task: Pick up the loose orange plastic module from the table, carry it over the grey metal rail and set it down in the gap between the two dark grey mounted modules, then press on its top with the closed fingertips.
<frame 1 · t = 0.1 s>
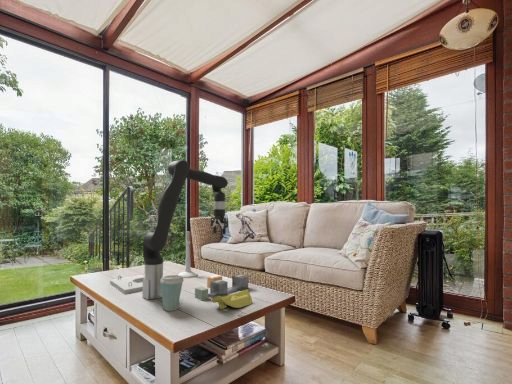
hand: (219, 233, 189), 29 cm above the table, tool pointing down, fingers open, 8 cm apart
orange module: (214, 287, 172), on the table
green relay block: (201, 298, 152), on the table
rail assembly: (228, 291, 163), on the table
disposable coffee cup: (171, 308, 137), on the table
mounting panel: (143, 284, 178), on the table
candlestick: (187, 275, 199), on the table
plastic component: (230, 306, 142), on the table
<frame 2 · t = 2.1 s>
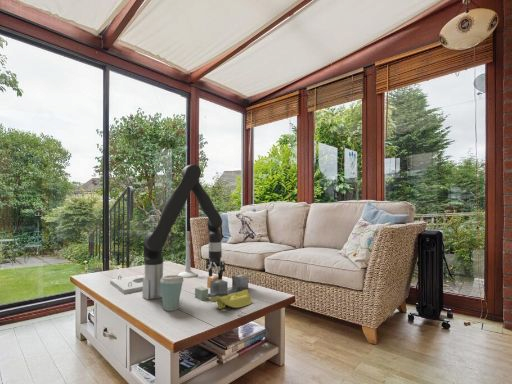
hand: (215, 277, 173), 5 cm above the table, tool pointing down, fingers open, 8 cm apart
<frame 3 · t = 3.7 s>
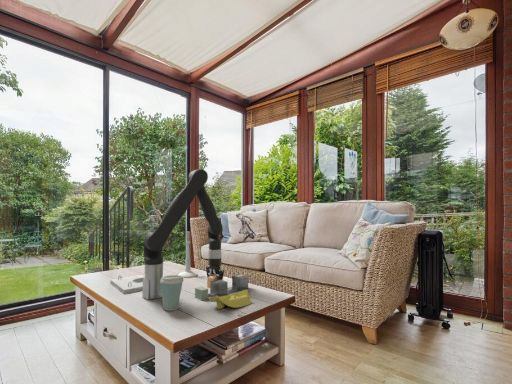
hand: (214, 286, 172), 0 cm above the table, tool pointing down, fingers closed on orange module, 5 cm apart
orange module: (214, 286, 172), on the table, touching gripper
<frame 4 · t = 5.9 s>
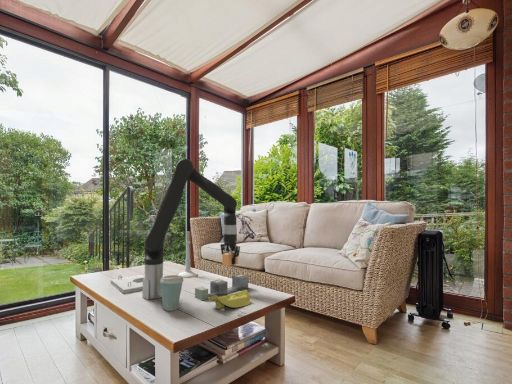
hand: (230, 263, 164), 15 cm above the table, tool pointing down, fingers closed on orange module, 5 cm apart
orange module: (230, 264, 164), point 15 cm above the table, touching gripper
when the fingers open (3 cm above the table, at t = 8.1 s): orange module drops 1 cm, resting on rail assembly.
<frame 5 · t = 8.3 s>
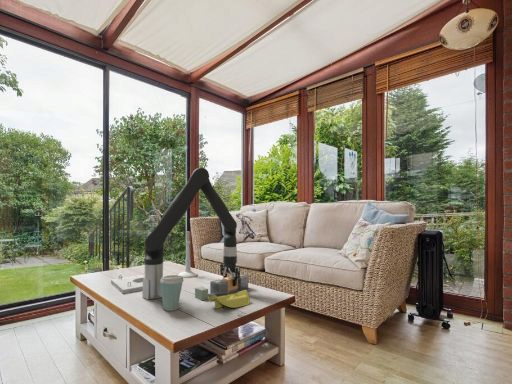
hand: (229, 284, 164), 4 cm above the table, tool pointing down, fingers open, 7 cm apart
orange module: (229, 288, 164), point 1 cm above the table, touching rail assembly
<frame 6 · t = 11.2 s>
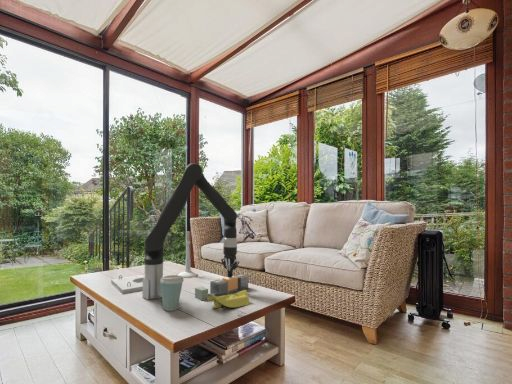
hand: (229, 277, 164), 8 cm above the table, tool pointing down, fingers closed
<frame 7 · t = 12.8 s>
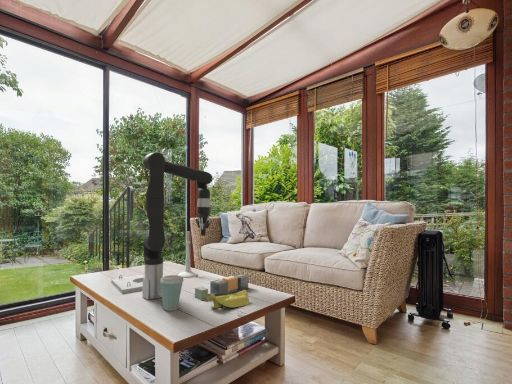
hand: (203, 235, 174), 30 cm above the table, tool pointing down, fingers closed
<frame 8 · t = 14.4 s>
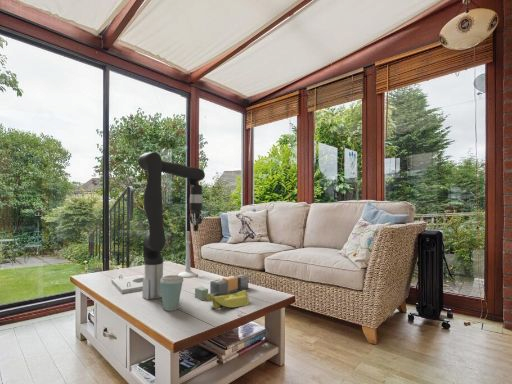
hand: (195, 231, 178), 32 cm above the table, tool pointing down, fingers closed
at the end: orange module 0.0 cm from the target spot on the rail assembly, point 1.5 cm above the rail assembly's base; orange module tilted 0°; the gripper is holding nothing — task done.
